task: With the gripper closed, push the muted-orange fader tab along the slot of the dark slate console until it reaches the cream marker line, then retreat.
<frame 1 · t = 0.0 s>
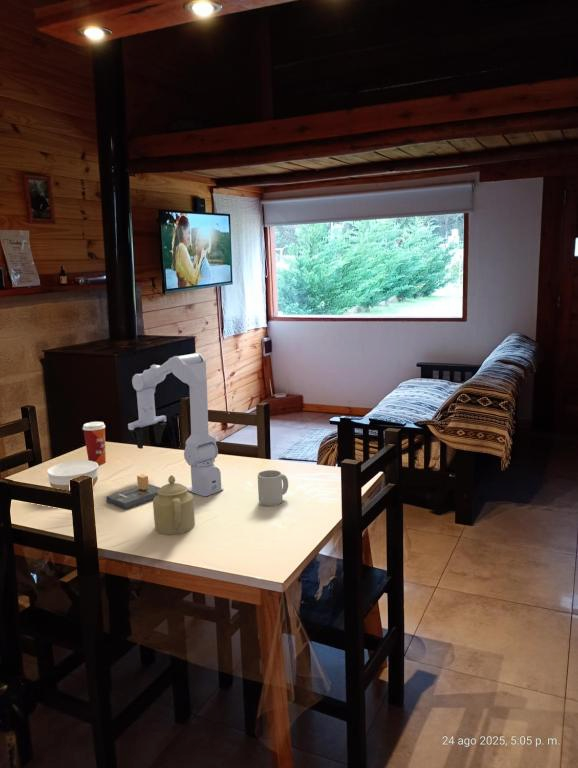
hand: (149, 445, 222), 10 cm above the table, fingers open, 7 cm apart
fader: (142, 482, 202), point 4 cm above the table, slide at 0.0 cm
coffee cup: (97, 463, 238), on the table
cup: (274, 501, 194), on the table
bowl: (75, 491, 209), on the table
console: (136, 498, 200), on the table
sugar bowl: (179, 529, 176), on the table
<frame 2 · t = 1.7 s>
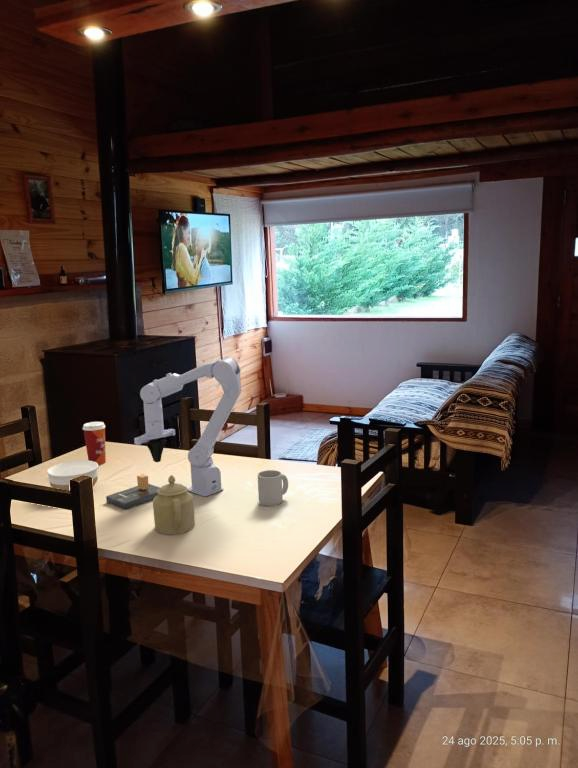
hand: (157, 461, 205), 10 cm above the table, fingers closed
nothing on the table moved.
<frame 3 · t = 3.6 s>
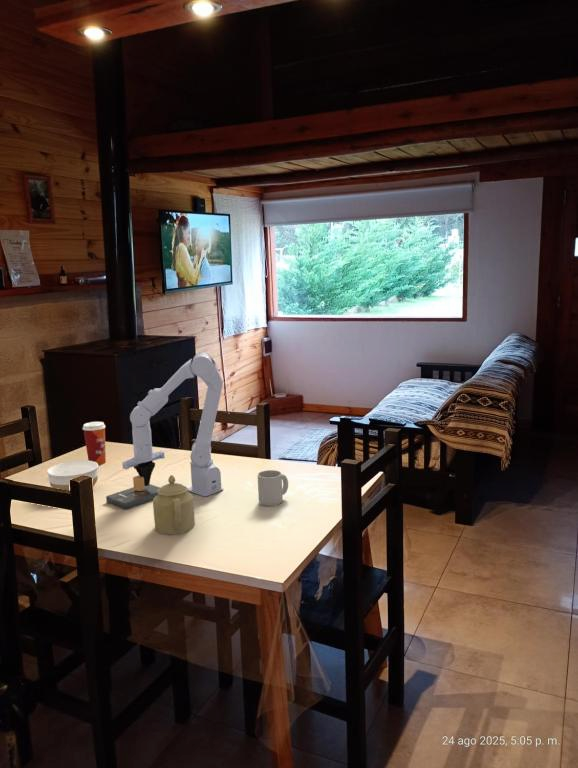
hand: (145, 484, 203), 3 cm above the table, fingers closed
fader: (138, 483, 201), point 4 cm above the table, slide at 1.5 cm, touching gripper
everything else where it was.
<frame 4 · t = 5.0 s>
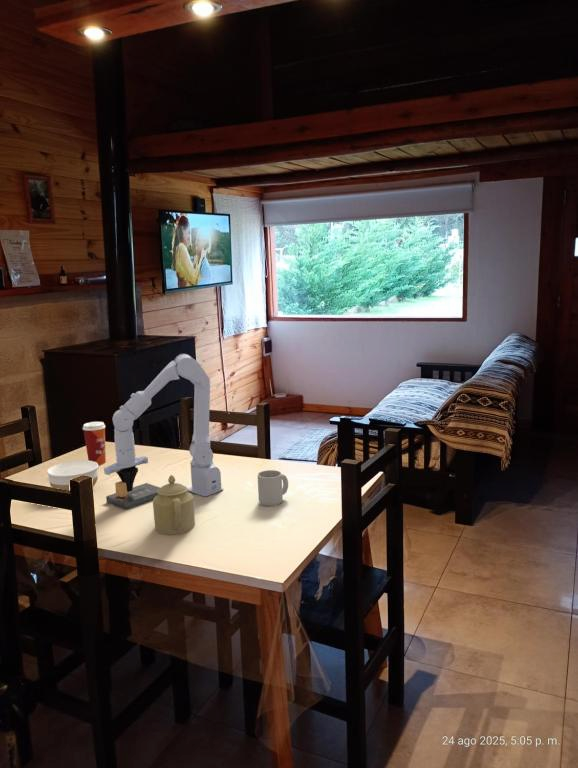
hand: (128, 490, 198), 3 cm above the table, fingers closed
fader: (121, 489, 196), point 4 cm above the table, slide at 8.0 cm, touching gripper
everything else where it was.
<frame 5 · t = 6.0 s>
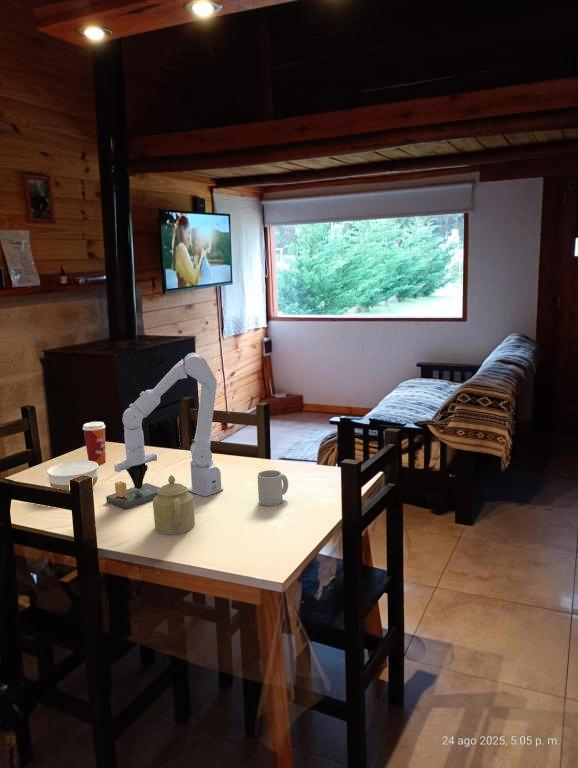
hand: (138, 487, 201), 3 cm above the table, fingers closed
fader: (120, 489, 196), point 4 cm above the table, slide at 8.1 cm
everything else where it was.
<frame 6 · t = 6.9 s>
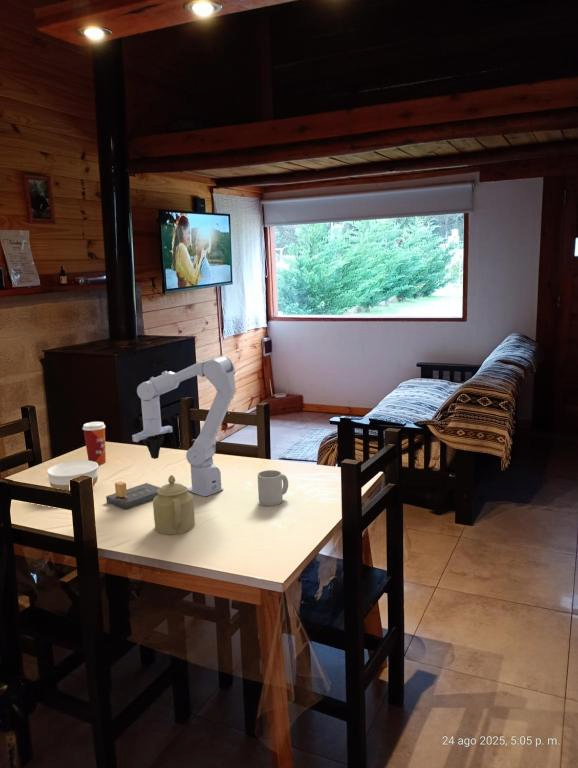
hand: (154, 458, 208), 10 cm above the table, fingers closed
nothing on the table moved.
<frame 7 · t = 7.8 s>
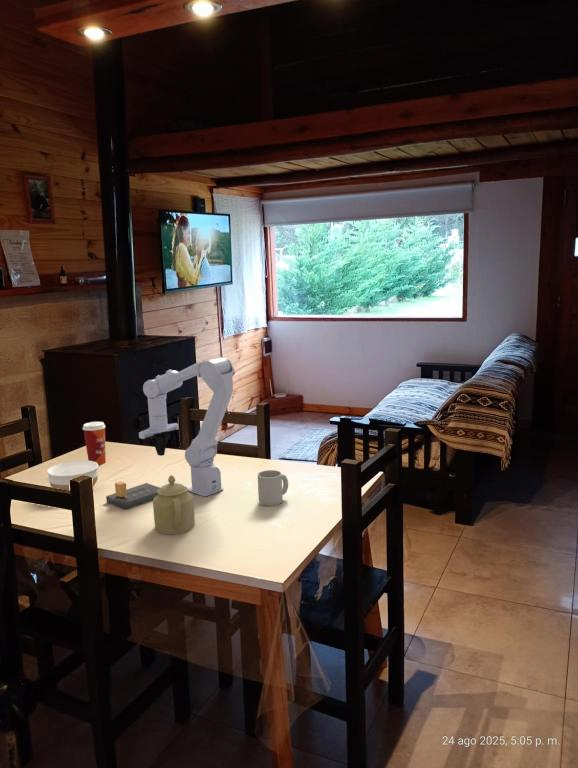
hand: (160, 454, 211), 10 cm above the table, fingers closed
nothing on the table moved.
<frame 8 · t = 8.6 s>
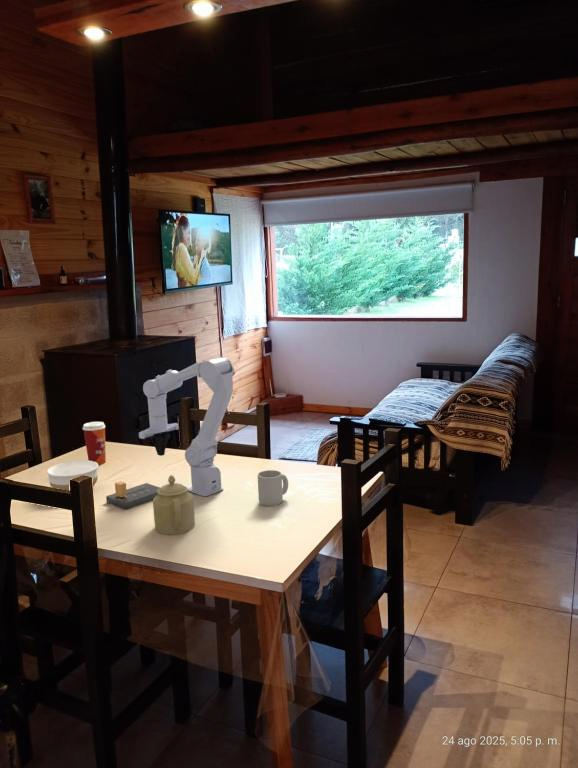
hand: (160, 454, 211), 10 cm above the table, fingers closed
nothing on the table moved.
at the end: fader slide at 8.1 cm; the gripper is holding nothing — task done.
